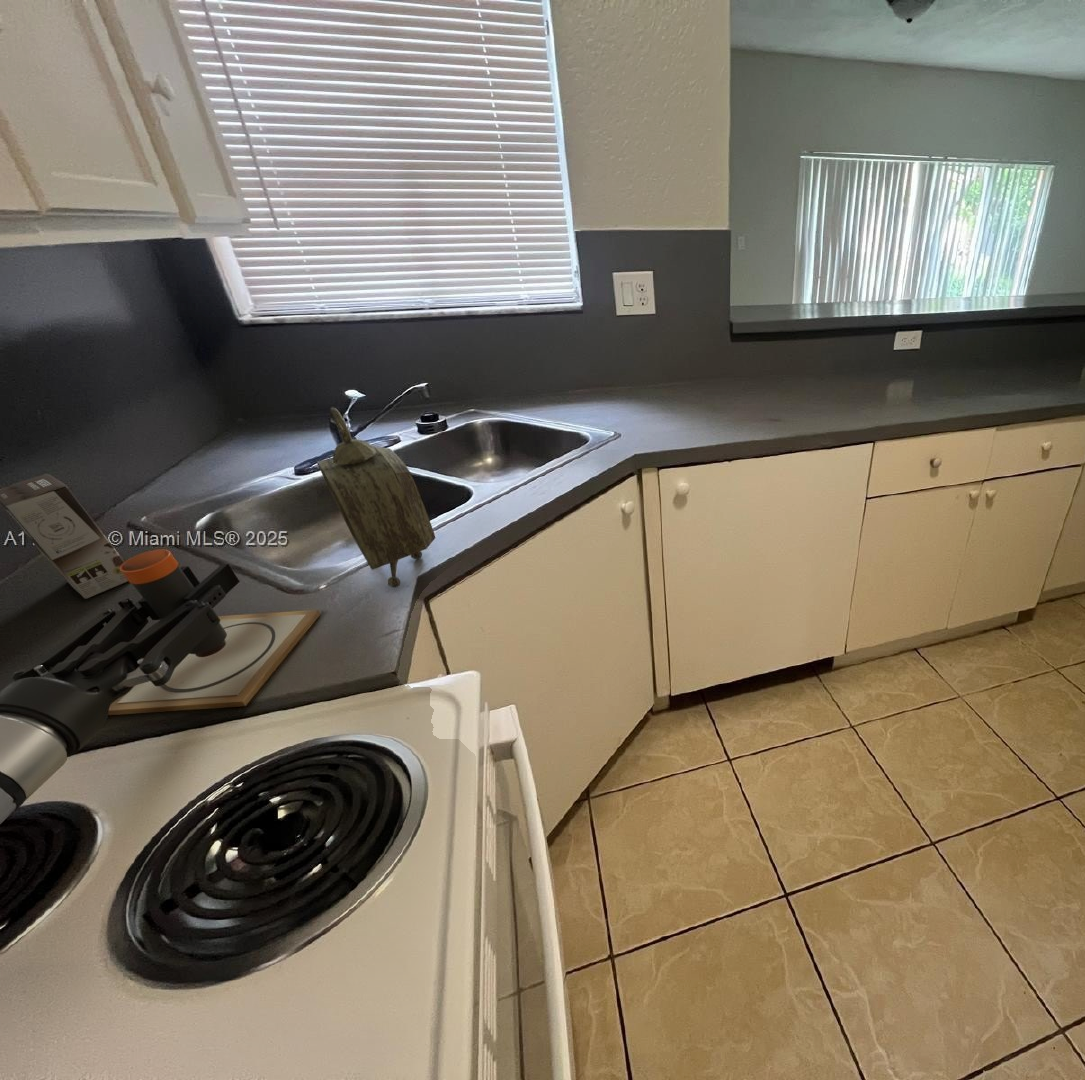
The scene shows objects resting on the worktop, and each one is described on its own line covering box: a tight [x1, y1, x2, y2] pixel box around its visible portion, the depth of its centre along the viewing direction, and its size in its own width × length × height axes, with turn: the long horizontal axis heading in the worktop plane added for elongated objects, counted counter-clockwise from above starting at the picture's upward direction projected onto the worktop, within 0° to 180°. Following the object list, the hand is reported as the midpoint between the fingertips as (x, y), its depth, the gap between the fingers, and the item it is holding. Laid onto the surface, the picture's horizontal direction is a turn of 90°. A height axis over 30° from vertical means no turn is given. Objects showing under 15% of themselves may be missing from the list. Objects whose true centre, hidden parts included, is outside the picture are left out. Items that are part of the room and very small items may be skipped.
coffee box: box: [0, 473, 129, 600], centre depth 83 cm, size 9×6×16 cm
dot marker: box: [120, 548, 227, 657], centre depth 64 cm, size 4×4×13 cm
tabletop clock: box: [316, 407, 436, 589], centre depth 80 cm, size 14×9×25 cm, turn 41°
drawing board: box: [108, 609, 322, 716], centre depth 71 cm, size 16×16×1 cm
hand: (210, 574), depth 68 cm, fingers closed on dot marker, 4 cm apart
